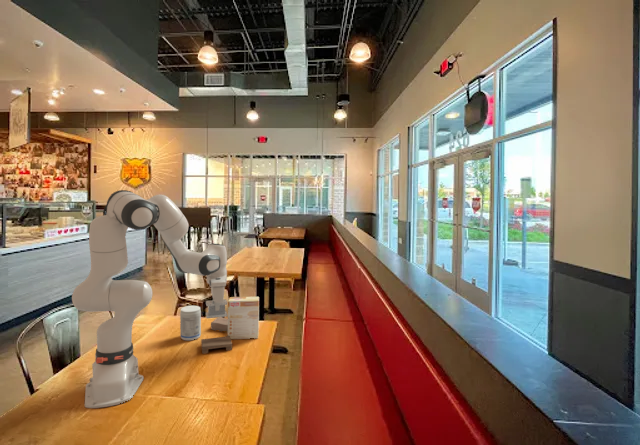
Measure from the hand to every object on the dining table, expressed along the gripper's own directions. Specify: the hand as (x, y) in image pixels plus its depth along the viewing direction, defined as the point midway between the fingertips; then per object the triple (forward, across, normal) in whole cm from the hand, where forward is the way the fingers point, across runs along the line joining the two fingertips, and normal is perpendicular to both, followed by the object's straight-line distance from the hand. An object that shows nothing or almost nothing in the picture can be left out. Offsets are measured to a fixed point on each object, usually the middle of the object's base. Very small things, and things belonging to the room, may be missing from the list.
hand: (216, 308), depth 162 cm
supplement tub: (+19, -16, -11) cm, 27 cm away
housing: (+4, 0, 0) cm, 4 cm away
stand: (+19, 0, 0) cm, 19 cm away
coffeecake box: (+19, -10, +14) cm, 26 cm away
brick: (+19, -22, +8) cm, 30 cm away
